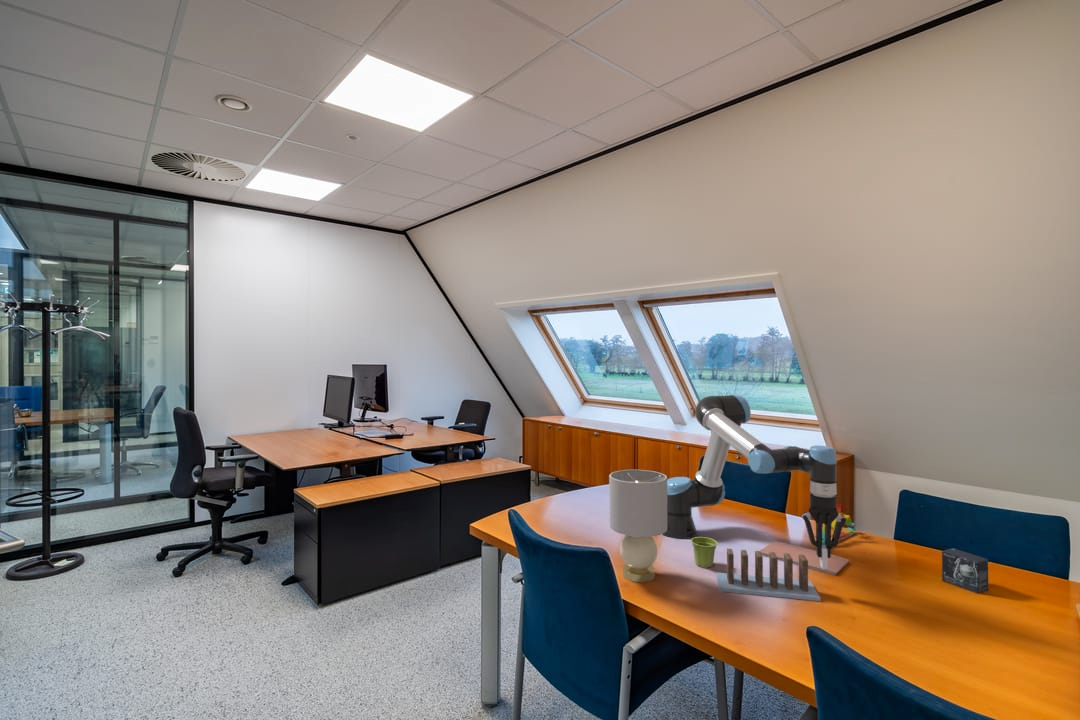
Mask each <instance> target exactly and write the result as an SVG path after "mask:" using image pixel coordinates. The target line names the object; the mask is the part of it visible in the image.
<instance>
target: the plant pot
mask: <svg viewBox="0 0 1080 720" xmlns="http://www.w3.org/2000/svg"><path fill="white" fill-rule="evenodd" d="M690 543H691V545H692V547H693V554H694V562H695V563H694V564H695V565H696V566H698V567H700V568H705V569H706V568H707V569H708V568H710V567H713V565H714V558H715V552H716V549H717V546H718V541H717V540H715V539H713V538H711V537H705V536H696V537H695V536H694V537H691V540H690Z"/></svg>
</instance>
